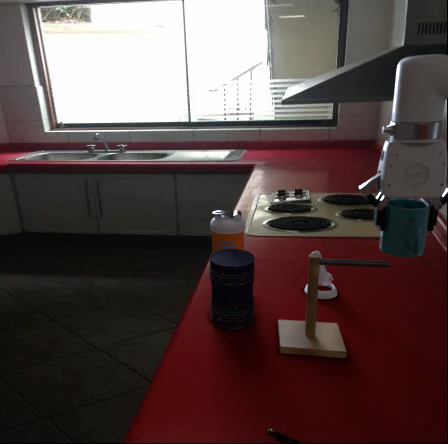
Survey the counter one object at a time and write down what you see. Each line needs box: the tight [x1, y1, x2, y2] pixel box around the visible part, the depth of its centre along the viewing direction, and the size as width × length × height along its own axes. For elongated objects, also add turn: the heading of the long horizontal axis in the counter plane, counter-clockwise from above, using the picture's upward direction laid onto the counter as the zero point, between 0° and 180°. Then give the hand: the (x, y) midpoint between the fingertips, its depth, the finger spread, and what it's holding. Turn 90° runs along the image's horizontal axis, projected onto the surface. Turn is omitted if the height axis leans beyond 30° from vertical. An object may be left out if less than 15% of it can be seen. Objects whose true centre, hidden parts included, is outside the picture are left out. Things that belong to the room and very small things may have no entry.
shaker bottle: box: [209, 209, 247, 253], centre depth 108 cm, size 9×9×20 cm
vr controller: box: [304, 250, 338, 300], centre depth 105 cm, size 8×12×7 cm
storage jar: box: [208, 249, 256, 330], centre depth 93 cm, size 10×10×15 cm
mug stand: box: [277, 253, 391, 359], centre depth 81 cm, size 19×10×19 cm, turn 78°
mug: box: [378, 199, 430, 258], centre depth 75 cm, size 11×7×9 cm
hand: (403, 228), depth 77 cm, fingers closed on mug, 7 cm apart
